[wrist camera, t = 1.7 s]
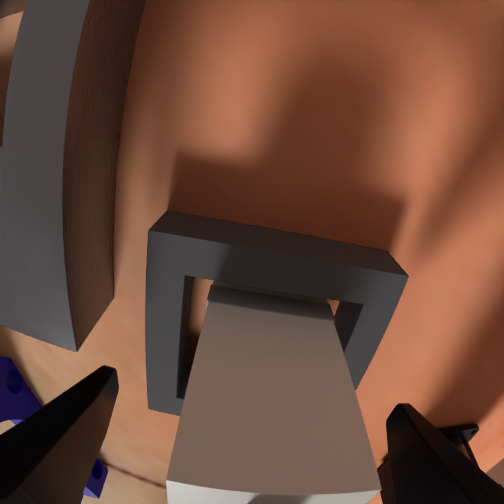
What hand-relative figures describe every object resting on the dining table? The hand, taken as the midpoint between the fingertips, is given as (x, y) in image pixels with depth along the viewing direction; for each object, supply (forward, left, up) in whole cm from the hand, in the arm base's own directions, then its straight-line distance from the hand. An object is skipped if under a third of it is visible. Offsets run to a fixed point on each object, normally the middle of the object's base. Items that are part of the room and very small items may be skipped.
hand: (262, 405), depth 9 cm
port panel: (+11, -9, -4) cm, 15 cm away
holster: (0, 0, -4) cm, 4 cm away
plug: (0, 0, -4) cm, 4 cm away
